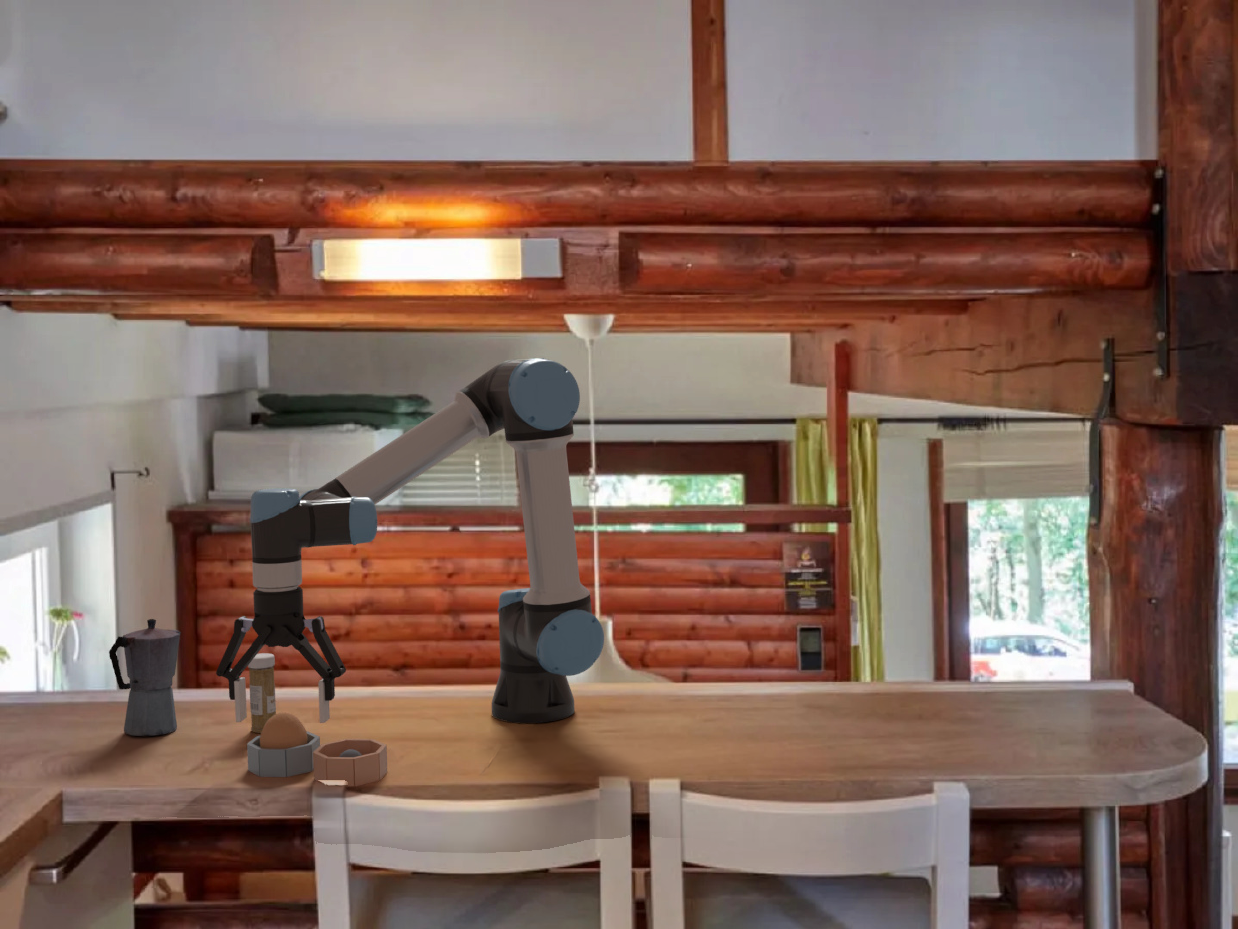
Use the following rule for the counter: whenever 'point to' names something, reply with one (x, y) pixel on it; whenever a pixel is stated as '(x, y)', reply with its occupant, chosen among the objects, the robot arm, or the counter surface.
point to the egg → (283, 732)
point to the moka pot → (148, 679)
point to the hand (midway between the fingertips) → (282, 720)
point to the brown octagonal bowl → (351, 761)
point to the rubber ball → (350, 753)
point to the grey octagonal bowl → (282, 758)
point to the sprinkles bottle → (262, 690)
